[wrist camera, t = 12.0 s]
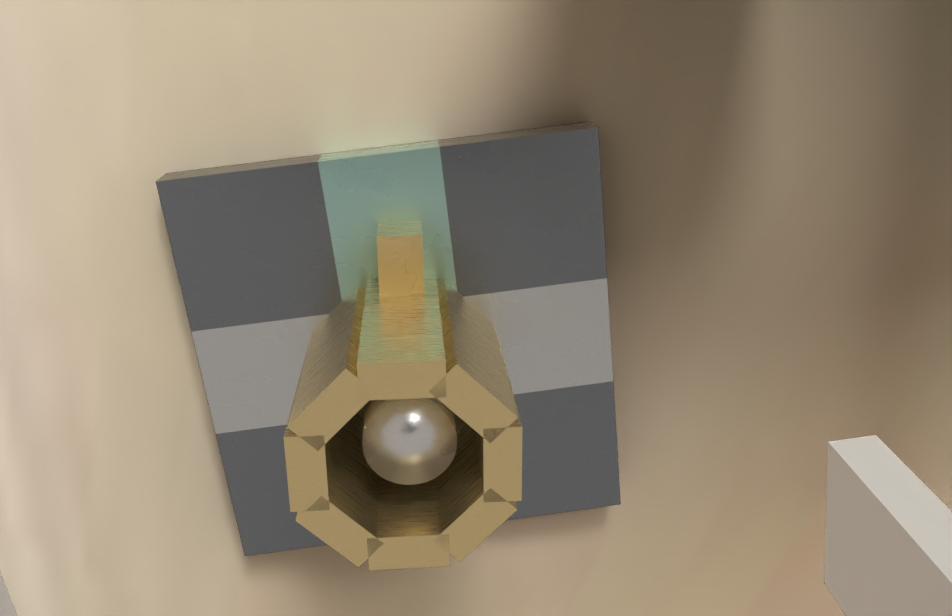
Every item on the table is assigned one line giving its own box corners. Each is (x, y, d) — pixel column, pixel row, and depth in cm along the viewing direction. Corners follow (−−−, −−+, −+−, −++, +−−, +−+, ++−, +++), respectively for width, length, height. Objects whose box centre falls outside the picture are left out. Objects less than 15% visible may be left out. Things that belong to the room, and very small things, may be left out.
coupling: (301, 224, 32) (270, 295, 25) (496, 219, 33) (524, 286, 25) (322, 498, 36) (301, 630, 29) (496, 489, 37) (520, 617, 29)
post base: (589, 121, 33) (648, 162, 25) (612, 485, 39) (666, 613, 31) (166, 173, 33) (89, 231, 25) (250, 535, 38) (210, 678, 30)
